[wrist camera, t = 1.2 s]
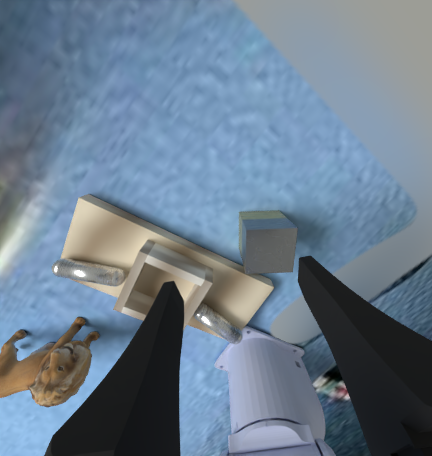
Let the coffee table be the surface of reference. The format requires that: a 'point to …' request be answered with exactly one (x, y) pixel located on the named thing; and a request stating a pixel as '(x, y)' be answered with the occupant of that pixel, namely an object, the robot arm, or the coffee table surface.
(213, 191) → the coffee table surface
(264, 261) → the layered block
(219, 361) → the robot arm
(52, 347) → the lion figurine
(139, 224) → the shaft board
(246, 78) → the coffee table surface
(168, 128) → the coffee table surface
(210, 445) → the coffee table surface
